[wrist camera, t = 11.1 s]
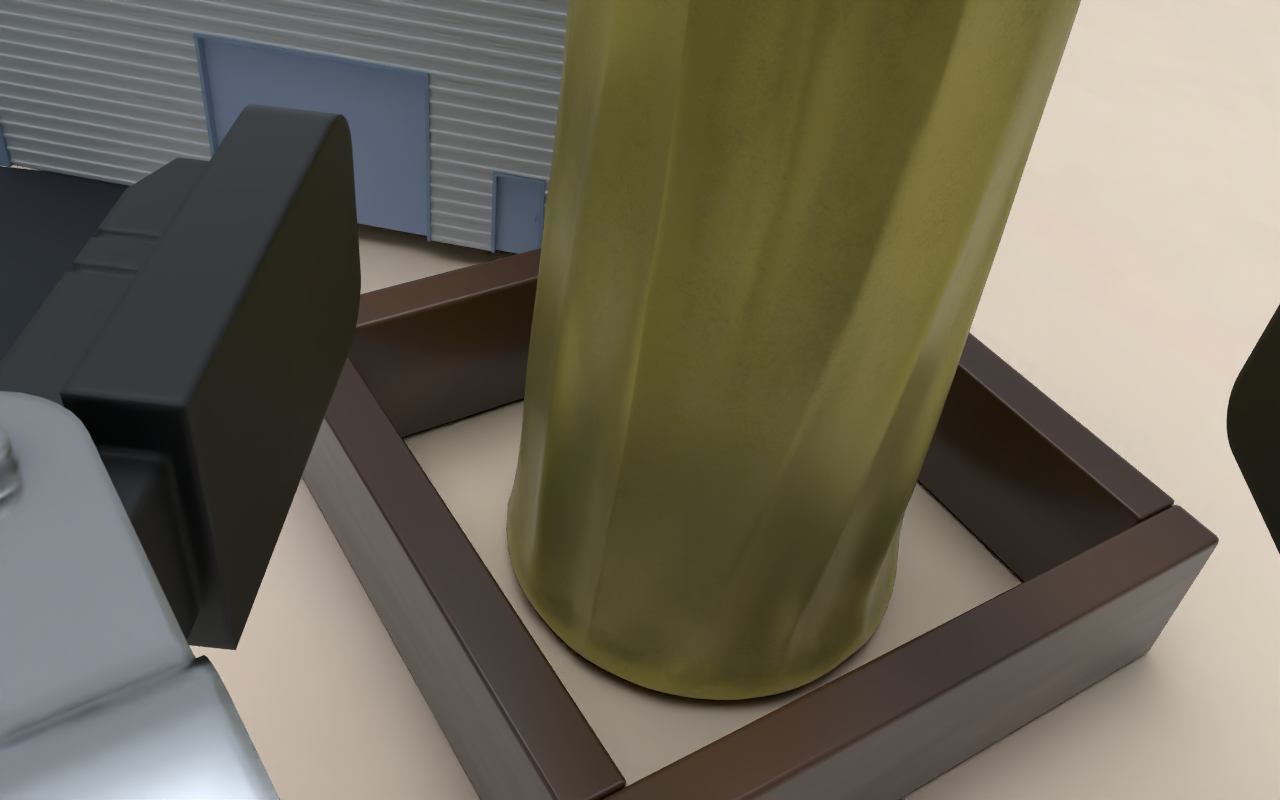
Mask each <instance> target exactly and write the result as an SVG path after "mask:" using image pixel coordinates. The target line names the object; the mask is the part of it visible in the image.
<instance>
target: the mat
mask: <svg viewBox="0 0 1280 800" xmlns="http://www.w3.org/2000/svg"><path fill="white" fill-rule="evenodd" d="M128 187H130V186H128V185H122V184H116V183H111V182H105V181H100V180H94V179H89V178H83V177H78V176H72V175H67V174H61V173H54V172H45V171H37V170H28V169H19V168H11V167H2V166H0V362H1V361H2V359H3V358H4V357H5V355H6V354H7V352H8V351H9V350H10V348H11V347H12V345H13V344H14V343H15V341H16V340H17V339H18V337H19V336H20V334H21V333H22V332H23V330H24V329H25V328H26V326H27V325H28V323H29V322H30V321H31V319H32V318H33V317H34V315H35V314H36V312H37V311H38V310H39V308H40V307H41V306H42V304H43V303H44V301H45V300H46V299H47V297H48V296H49V295H50V293H51V292H52V290H53V289H54V288H55V286H56V285H57V284H58V282H59V281H60V279H61V278H62V277H63V275H64V274H65V273H66V271H70V272H72V270H73V262H74V260H75V259H76V257H77V256H78V255H79V253H80V252H81V251H82V249H83V248H84V246H85V245H86V244H87V242H88V241H89V240H90V238H91V237H96V238H97V229H98V227H99V226H100V224H101V223H102V222H103V220H104V219H105V217H106V216H107V215H108V213H109V212H110V211H111V209H112V208H113V206H114V205H115V204H116V202H117V201H118V200H119V198H120V197H121V195H122V194H123V193H124V191H125V190H126V189H127V188H128Z"/></svg>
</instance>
